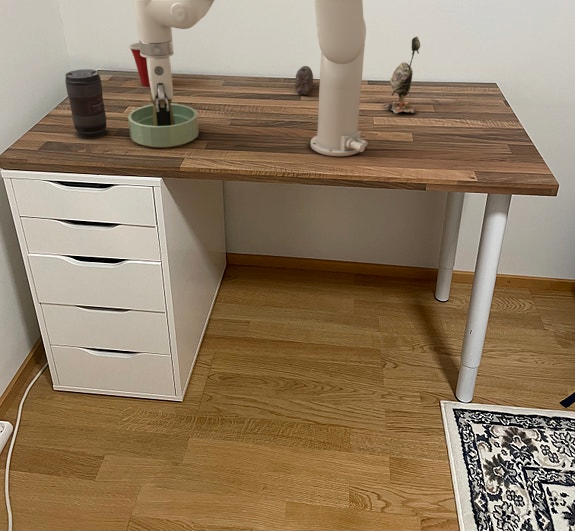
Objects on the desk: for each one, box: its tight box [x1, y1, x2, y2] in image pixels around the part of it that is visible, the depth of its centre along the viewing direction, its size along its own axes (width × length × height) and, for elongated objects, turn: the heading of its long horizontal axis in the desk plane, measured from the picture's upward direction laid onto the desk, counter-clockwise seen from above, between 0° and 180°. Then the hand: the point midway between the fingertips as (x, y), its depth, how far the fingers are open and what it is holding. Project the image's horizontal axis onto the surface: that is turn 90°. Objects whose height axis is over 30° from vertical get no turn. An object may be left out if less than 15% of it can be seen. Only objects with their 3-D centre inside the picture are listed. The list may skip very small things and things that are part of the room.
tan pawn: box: [149, 88, 175, 126], centre depth 151 cm, size 6×6×11 cm
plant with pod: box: [383, 36, 421, 114], centre depth 168 cm, size 8×11×20 cm
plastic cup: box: [128, 42, 150, 88], centre depth 186 cm, size 11×11×12 cm
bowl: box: [127, 103, 200, 148], centre depth 153 cm, size 17×17×6 cm
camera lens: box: [64, 68, 107, 140], centre depth 151 cm, size 8×8×15 cm
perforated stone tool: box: [294, 65, 314, 96], centre depth 185 cm, size 15×5×7 cm, turn 174°
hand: (163, 119), depth 152 cm, fingers open, 9 cm apart
